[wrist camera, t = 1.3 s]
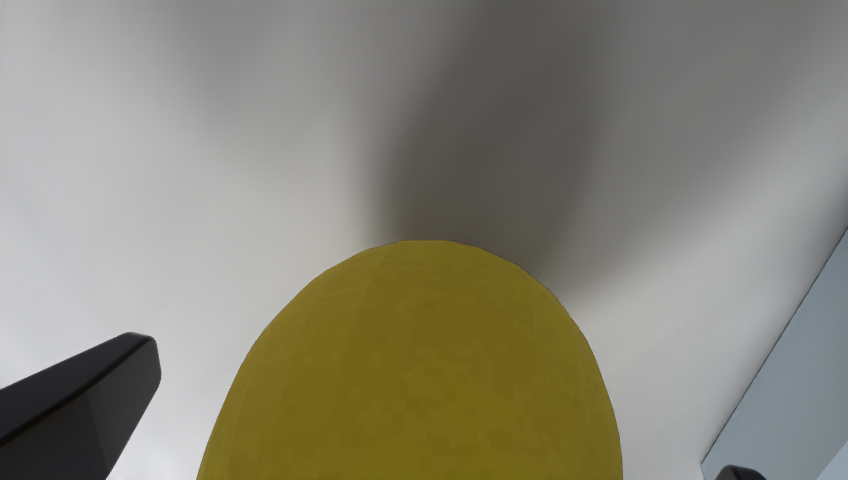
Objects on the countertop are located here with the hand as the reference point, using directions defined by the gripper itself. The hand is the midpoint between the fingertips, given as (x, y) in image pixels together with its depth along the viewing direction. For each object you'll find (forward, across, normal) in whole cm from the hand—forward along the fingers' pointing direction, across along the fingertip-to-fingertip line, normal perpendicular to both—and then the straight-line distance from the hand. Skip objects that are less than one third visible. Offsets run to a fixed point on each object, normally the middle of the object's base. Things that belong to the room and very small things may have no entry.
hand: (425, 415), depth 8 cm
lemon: (+4, 0, 0) cm, 4 cm away
